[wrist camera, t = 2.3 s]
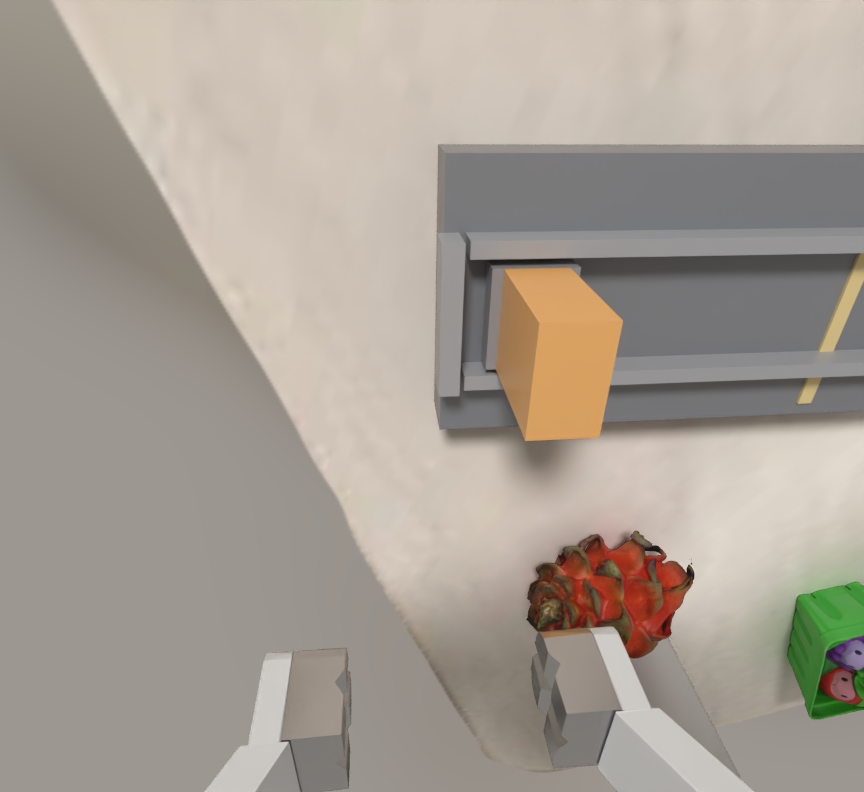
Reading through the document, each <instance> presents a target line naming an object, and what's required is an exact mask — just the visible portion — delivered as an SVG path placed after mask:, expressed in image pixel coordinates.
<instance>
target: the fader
mask: <svg viewBox="0 0 864 792" xmlns="http://www.w3.org/2000/svg"><path fill="white" fill-rule="evenodd" d="M580 272H581V267H580V266H579V265H578V264H577V263H576V262H575V261H574V260H573V259H534V260H487V273H486V289H485V305H484V320H483V336H482V352H481V359H482V361H483V364H484V367H485V369H486V370H492V369H496V371H497V374H498V376H499V378H500V381H501V383H502V386H503V388H504V391H505V393H506V395H507V398H508V400H509V403H510V405H511V408H512V410H513V412H514V415H515V417H516V420H517V422H518V425H519V427H520V430H521V432H522V434H523V437H524V439H525V441H537V440H559V439H580V438H599V437H600V432H601V427H602V422H603V417H604V412H605V407H606V402H607V397H608V393H609V388H610V383H611V378H612V373H613V368H614V363H615V358H616V354H617V349H618V344H619V339H620V334H621V329H622V324H623V320H622V319H621V318H620V317H619V316H618V315H617V314H616V313H615V312H614V311H613V310H612V309H611V308H610V307H609V306H608V305H607V304H606V303H605V302H604V301H603V300H602V299H601V298H600V297H599V296H598V295H597V294H596V293H595V292H594V291H593V290H592V289H591V288H590V287H589V286H588V285H587V284H586V283H585V282H584V281H583V280H582V279H581V278H580Z"/></svg>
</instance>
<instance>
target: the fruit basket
mask: <svg viewBox="0 0 864 792" xmlns="http://www.w3.org/2000/svg"><path fill="white" fill-rule="evenodd" d="M796 608H797V611H796V613H795V615H794V621H793V626H794V629H793V630H792V633H791V639H790V642H791V646H790V647H789V651H788V658H789V661H790V664H791V666H792V669H793V671H794V674H795V676H796V679H797V681H798V684H799V686H800V689H801V691H802V694H803V697H804V699H805V706H806V709H807V712H808V714H809V717H810V718H811V719H824V718H828V717H832V716H836V715H841V714H846V713H850V712H855V711H859V710H864V586H863V585H861V584H860V583H858V582H853V583H850V584H848V585H846V586H837V587H832V588H828V589H824V590H820V591H816V592H814V593H812V594H811V595H810V594H803V595H800V596H798V598H797V604H796Z"/></svg>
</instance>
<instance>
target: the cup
mask: <svg viewBox="0 0 864 792" xmlns="http://www.w3.org/2000/svg"><path fill="white" fill-rule="evenodd" d="M630 660H631V663H632V665H633V667H634V669H635V672H636V674H637V676H638V678H639V681H640V683H641V685H642V687H643V690H644V692H645V694H646V696H647V699H648V701H649V703H650V705H651V708H660V709H661V710H662V711H664V712H665V713H666V714H667V715H668V716H669V717H670V718H671V719H673V720H674V721H675V722H676V723H677V724H678V725H679V726H681V727H682V728H683V729H684V730H685V731H686V732H687V733H688V734H690V735H691V736H692V737H693V738H694V739H695V740H696V741H697V742H699V743H700V744H701V745H702V746H703V747H704V748H705V749H707V750H708V751H709V752H710V753H711V754H712V755H713V756H714V757H716V758H717V759H718V760H719V761H720V762H721V763H722V764H724V765H725V766H726V767H727V768H728V769H729V770H730V771H731V772H733V773H734V774H735V775H736V776H737V777H738V778H739V779H741V777H740V775H739V774H738V772H737V770H736V768H735V766H734V764H733V762H732V760H731V758H730V756H729V754H728V752H727V751H726V749H725V747H724V745H723V743H722V741H721V739H720V737H719V735H718V733H717V731H716V729H715V727H714V725H713V724H712V722H711V720H710V718H709V716H708V714H707V712H706V710H705V708H704V706H703V704H702V702H701V700H700V699H699V697H698V695H697V693H696V691H695V689H694V687H693V685H692V683H691V681H690V679H689V677H688V675H687V674H686V672H685V670H684V668H683V666H682V664H681V662H680V660H679V658H678V656H677V654H676V652H675V651H674V649H673V647H672V645H671V643H670V641H669V639H668V638H666V639H662V640H661V641H658V645H657V646H656V647H655V649H654V650H653V651H652V652H650V653H649V654H647V655H645V656H643V657H641V658H635V659H632V658H630ZM741 780H742V779H741ZM616 792H617V791H616Z"/></svg>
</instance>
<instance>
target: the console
mask: <svg viewBox="0 0 864 792" xmlns="http://www.w3.org/2000/svg"><path fill="white" fill-rule="evenodd" d="M534 259H573V260H574V261H575V262H576V263H577V264H578V265H579V266H580V267H581V272H580V278H581V279H582V280H583V281H584V282H585V283H586V284H587V285H588V286H589V287H590V288H591V289H592V290H593V291H594V292H595V293H596V294H597V295H598V296H599V297H600V298H601V299H602V300H603V301H604V302H605V303H606V304H607V305H608V306H609V307H610V308H611V309H612V310H613V311H614V312H615V313H616V314H617V315H618V316H619V317H620V318H621V319H622V320H623V324H622V329H621V334H620V339H619V344H618V349H617V354H616V358H615V363H614V368H613V373H612V378H611V383H610V388H609V393H608V397H607V402H606V407H605V412H604V417H603V422H624V421H647V420H669V419H692V418H715V417H738V416H761V415H784V414H807V413H830V412H852V411H864V145H438V196H437V261H436V326H435V390H434V402H435V408H436V413H437V418H438V424H439V429H440V430H441V429H464V428H486V427H509V426H519V425H518V422H517V420H516V417H515V415H514V412H513V410H512V408H511V405H510V403H509V400H508V398H507V395H506V393H505V391H504V388H503V386H502V383H501V381H500V378H499V376H498V374H497V371H496V369H492V370H486V369H485V367H484V364H483V361H482V359H481V352H482V336H483V320H484V305H485V289H486V273H487V260H534Z"/></svg>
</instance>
